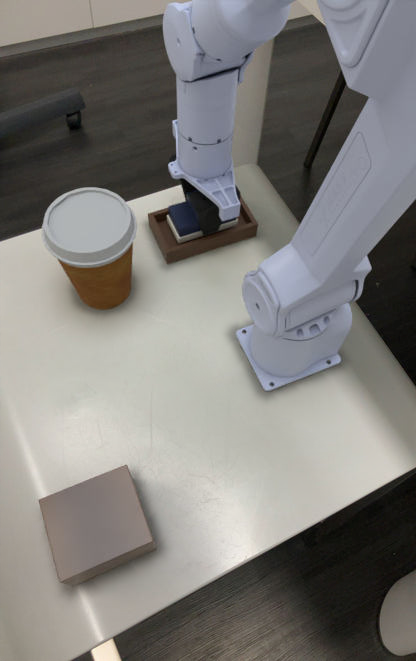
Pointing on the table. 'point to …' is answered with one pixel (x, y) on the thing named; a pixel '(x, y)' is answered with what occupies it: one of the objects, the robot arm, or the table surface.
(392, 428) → the table surface
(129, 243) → the disposable coffee cup
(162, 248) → the brown wooden tray
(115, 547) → the grey brown block
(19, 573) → the table surface
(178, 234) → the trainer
